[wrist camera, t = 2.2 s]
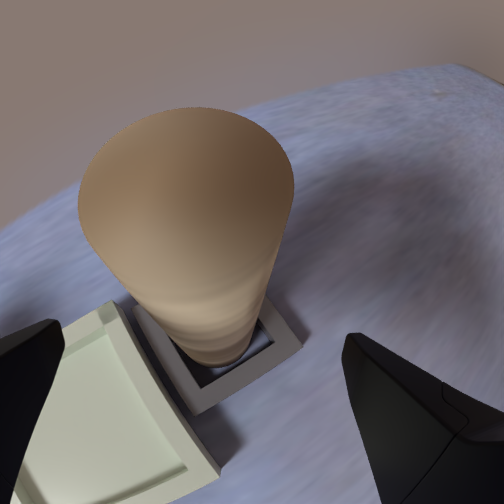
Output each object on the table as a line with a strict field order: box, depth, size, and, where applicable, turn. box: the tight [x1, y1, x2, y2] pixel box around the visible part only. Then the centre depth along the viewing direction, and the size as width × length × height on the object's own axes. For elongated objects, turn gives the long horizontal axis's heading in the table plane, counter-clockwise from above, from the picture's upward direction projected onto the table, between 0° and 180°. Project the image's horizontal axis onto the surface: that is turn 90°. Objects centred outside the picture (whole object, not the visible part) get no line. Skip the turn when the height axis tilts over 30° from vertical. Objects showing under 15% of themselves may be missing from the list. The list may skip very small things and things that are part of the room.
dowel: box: [78, 107, 294, 368], centre depth 13 cm, size 4×4×15 cm
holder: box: [131, 294, 303, 417], centre depth 19 cm, size 8×8×1 cm
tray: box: [10, 300, 221, 504], centre depth 15 cm, size 12×15×2 cm
